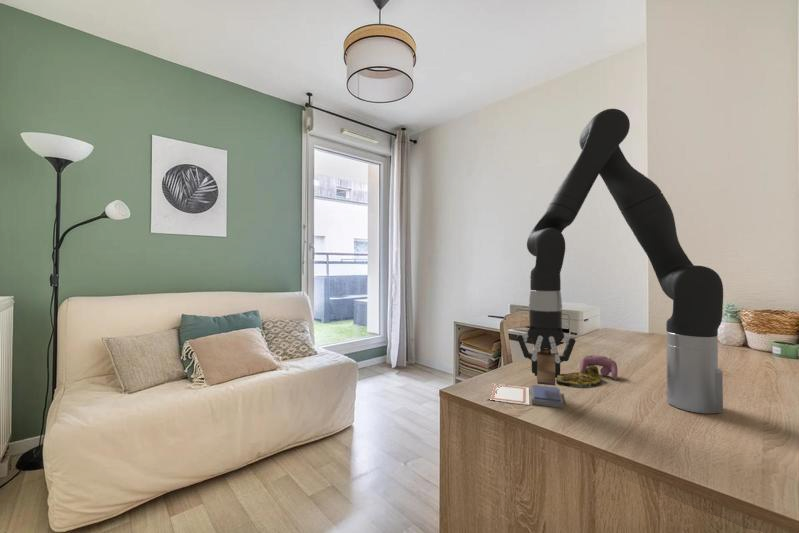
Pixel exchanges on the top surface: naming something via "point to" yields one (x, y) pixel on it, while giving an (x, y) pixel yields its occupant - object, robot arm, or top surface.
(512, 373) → the top surface
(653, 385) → the top surface
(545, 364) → the stamp
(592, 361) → the video game controller
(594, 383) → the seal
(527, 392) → the paper sheet
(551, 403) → the ink pad
